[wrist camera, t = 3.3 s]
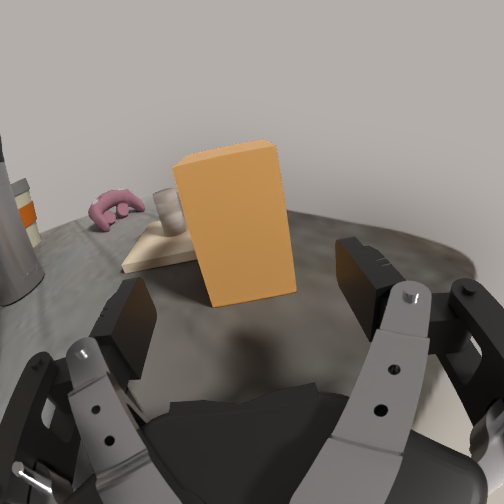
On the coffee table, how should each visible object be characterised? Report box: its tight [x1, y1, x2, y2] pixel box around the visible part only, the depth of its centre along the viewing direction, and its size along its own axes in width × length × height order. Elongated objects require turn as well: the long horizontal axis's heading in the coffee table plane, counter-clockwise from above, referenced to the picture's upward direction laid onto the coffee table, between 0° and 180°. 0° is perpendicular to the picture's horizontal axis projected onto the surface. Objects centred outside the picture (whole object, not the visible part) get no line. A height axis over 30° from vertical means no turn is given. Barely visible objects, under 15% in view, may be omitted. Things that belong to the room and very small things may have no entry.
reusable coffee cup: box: [11, 178, 41, 247], centre depth 45 cm, size 13×13×15 cm
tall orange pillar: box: [172, 139, 297, 307], centre depth 20 cm, size 6×6×10 cm
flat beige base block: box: [122, 188, 197, 274], centre depth 31 cm, size 10×12×6 cm
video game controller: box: [88, 187, 145, 232], centre depth 45 cm, size 10×5×7 cm, turn 150°
